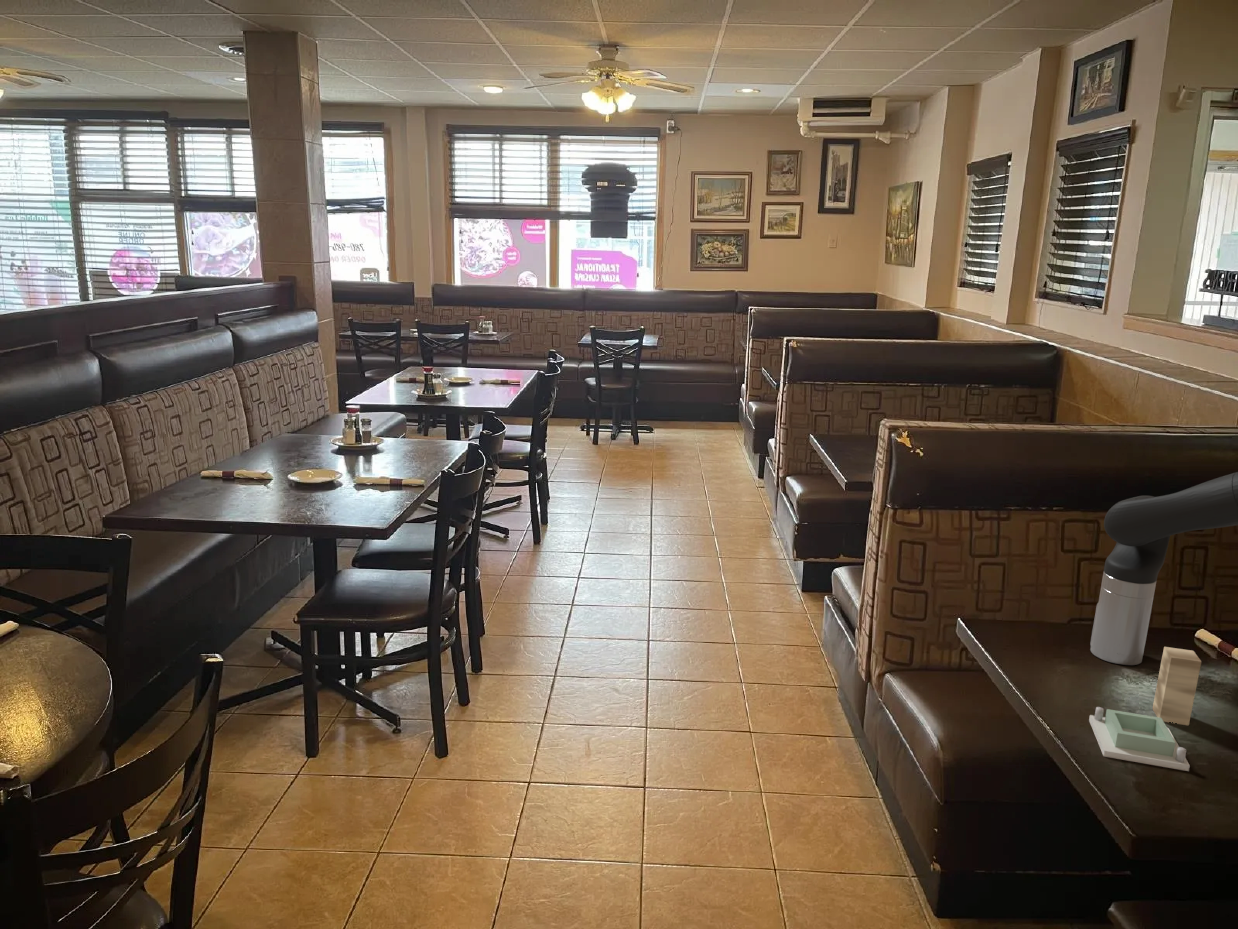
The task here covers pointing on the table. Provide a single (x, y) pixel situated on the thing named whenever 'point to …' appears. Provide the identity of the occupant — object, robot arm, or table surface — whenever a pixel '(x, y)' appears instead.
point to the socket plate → (1137, 739)
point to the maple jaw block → (1176, 685)
